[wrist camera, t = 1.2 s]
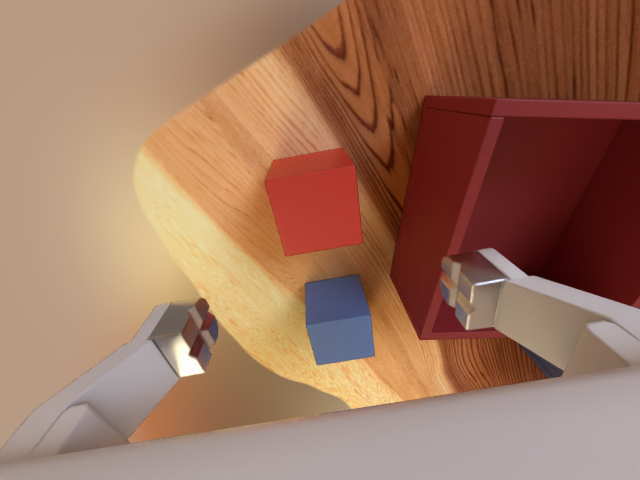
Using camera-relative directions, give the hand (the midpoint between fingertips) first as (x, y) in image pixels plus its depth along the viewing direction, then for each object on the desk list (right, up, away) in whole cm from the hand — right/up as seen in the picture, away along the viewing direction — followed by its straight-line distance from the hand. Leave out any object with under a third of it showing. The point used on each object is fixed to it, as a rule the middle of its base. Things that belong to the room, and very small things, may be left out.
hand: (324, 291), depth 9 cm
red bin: (+12, +5, +10) cm, 17 cm away
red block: (-1, +5, +9) cm, 10 cm away
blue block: (+1, -3, +14) cm, 14 cm away
